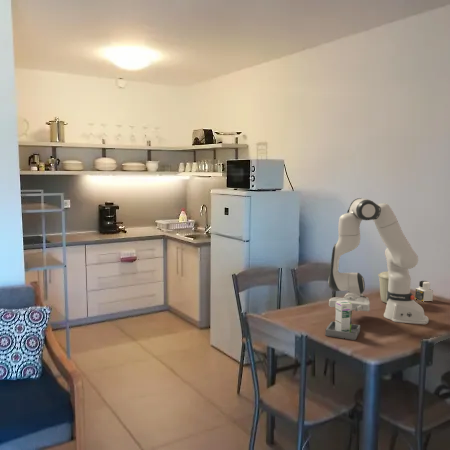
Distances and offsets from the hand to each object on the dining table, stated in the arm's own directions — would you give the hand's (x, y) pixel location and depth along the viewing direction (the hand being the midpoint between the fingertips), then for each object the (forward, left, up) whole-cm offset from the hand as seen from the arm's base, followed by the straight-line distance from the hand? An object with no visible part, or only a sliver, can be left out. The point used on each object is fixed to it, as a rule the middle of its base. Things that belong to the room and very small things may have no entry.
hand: (346, 308), depth 230 cm
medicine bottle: (-34, -75, -11) cm, 83 cm away
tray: (0, +8, -10) cm, 13 cm away
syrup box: (0, +8, -10) cm, 12 cm away
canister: (-17, -61, -11) cm, 65 cm away
